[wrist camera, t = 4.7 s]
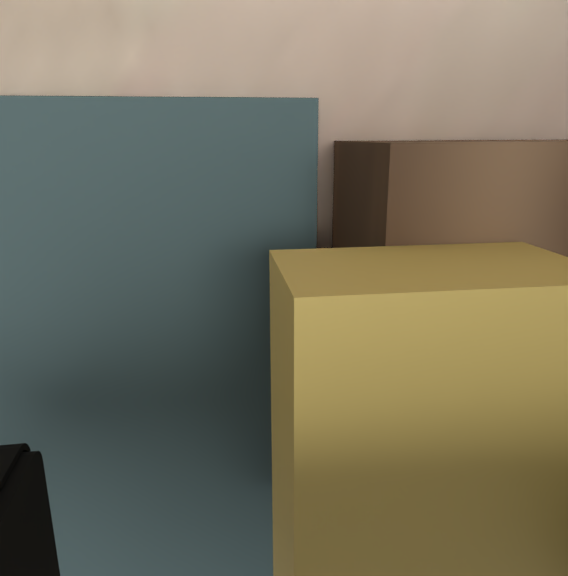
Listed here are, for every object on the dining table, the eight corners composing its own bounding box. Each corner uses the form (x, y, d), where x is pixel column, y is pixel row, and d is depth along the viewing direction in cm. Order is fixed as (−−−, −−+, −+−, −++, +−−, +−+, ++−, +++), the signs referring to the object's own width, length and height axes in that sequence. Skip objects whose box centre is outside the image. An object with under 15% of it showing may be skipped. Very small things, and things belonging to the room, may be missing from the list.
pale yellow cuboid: (522, 241, 10) (642, 282, 7) (481, 571, 13) (561, 700, 10) (269, 250, 10) (294, 297, 7) (273, 596, 12) (293, 741, 9)
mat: (315, 98, 13) (318, 98, 13) (309, 563, 17) (312, 571, 16) (-217, 94, 11) (-227, 94, 11) (-84, 615, 15) (-90, 624, 15)
